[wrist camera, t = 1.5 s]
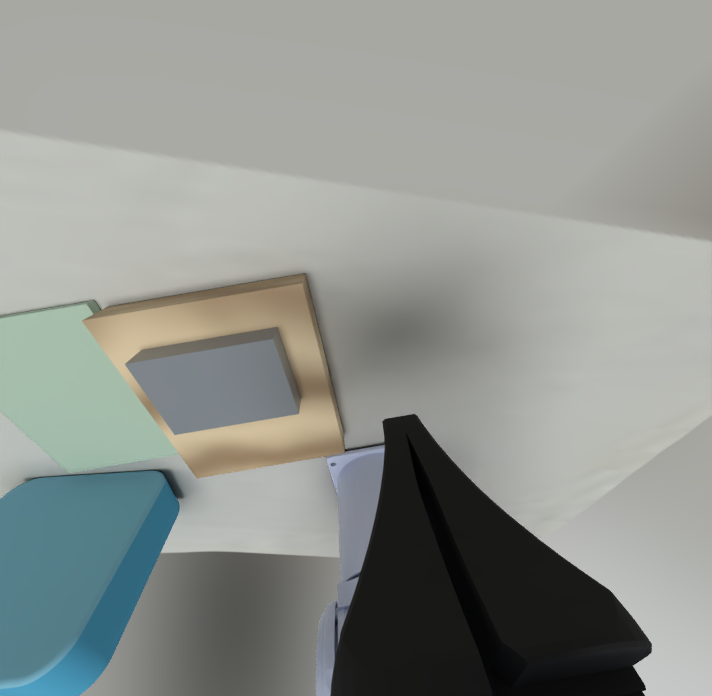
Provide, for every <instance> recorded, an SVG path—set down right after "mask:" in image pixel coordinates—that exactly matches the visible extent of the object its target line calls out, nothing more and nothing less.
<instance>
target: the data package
mask: <svg viewBox="0 0 712 696" xmlns="http://www.w3.org/2000/svg"><path fill="white" fill-rule="evenodd" d="M178 513H179V503H178V501H177V499H176V497H175V495H174V493H173V492H172V490H171V488H170V486H169V484H168V482H167V480H166V479H165V477H164V475H163V474H162V473H161V472H159V471H137V472H121V473H106V474H90V475H75V476H59V477H43V478H37V479H33V480H30V481H28V482H25V483H23V484H21V485H19V486H17V487H16V488H14V489H13V490H11V491H10V492H8V493H7V494H6V495H5V496H3V497H2V498H1V499H0V696H79V695H80V694H82V693H83V692H84V691H85V690H87V689H88V688H89V687H90V686H91V685H92V684H93V683H94V682H95V681H96V680H97V679H98V677H99V676H100V675H101V674H102V672H103V671H104V670H105V668H106V667H107V665H108V663H109V662H110V660H111V658H112V656H113V654H114V651H115V649H116V647H117V645H118V643H119V641H120V638H121V636H122V634H123V632H124V630H125V627H126V625H127V623H128V621H129V619H130V617H131V615H132V613H133V610H134V608H135V606H136V604H137V601H138V600H139V597H140V595H141V593H142V591H143V589H144V587H145V584H146V582H147V580H148V578H149V576H150V574H151V572H152V569H153V567H154V565H155V563H156V561H157V559H158V557H159V554H160V552H161V550H162V548H163V546H164V544H165V541H166V539H167V537H168V535H169V533H170V531H171V529H172V526H173V524H174V522H175V520H176V518H177V516H178Z"/></svg>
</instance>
